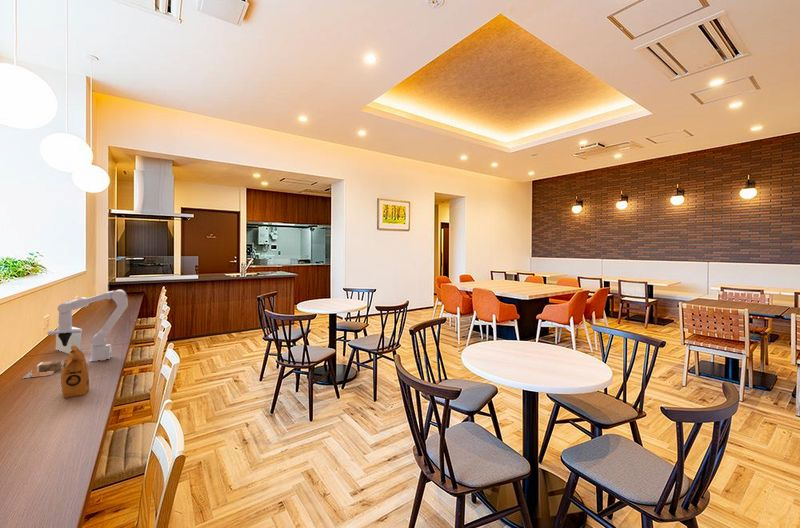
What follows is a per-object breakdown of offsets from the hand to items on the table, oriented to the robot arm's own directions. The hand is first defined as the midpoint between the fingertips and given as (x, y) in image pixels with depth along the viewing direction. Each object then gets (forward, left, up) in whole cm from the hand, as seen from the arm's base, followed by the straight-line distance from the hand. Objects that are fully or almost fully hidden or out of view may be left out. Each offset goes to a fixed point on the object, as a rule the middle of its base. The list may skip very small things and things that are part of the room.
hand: (65, 345), depth 201 cm
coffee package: (-16, +55, -11) cm, 59 cm away
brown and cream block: (0, +12, -8) cm, 15 cm away
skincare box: (+5, -29, -11) cm, 31 cm away
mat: (+6, +12, -10) cm, 17 cm away
